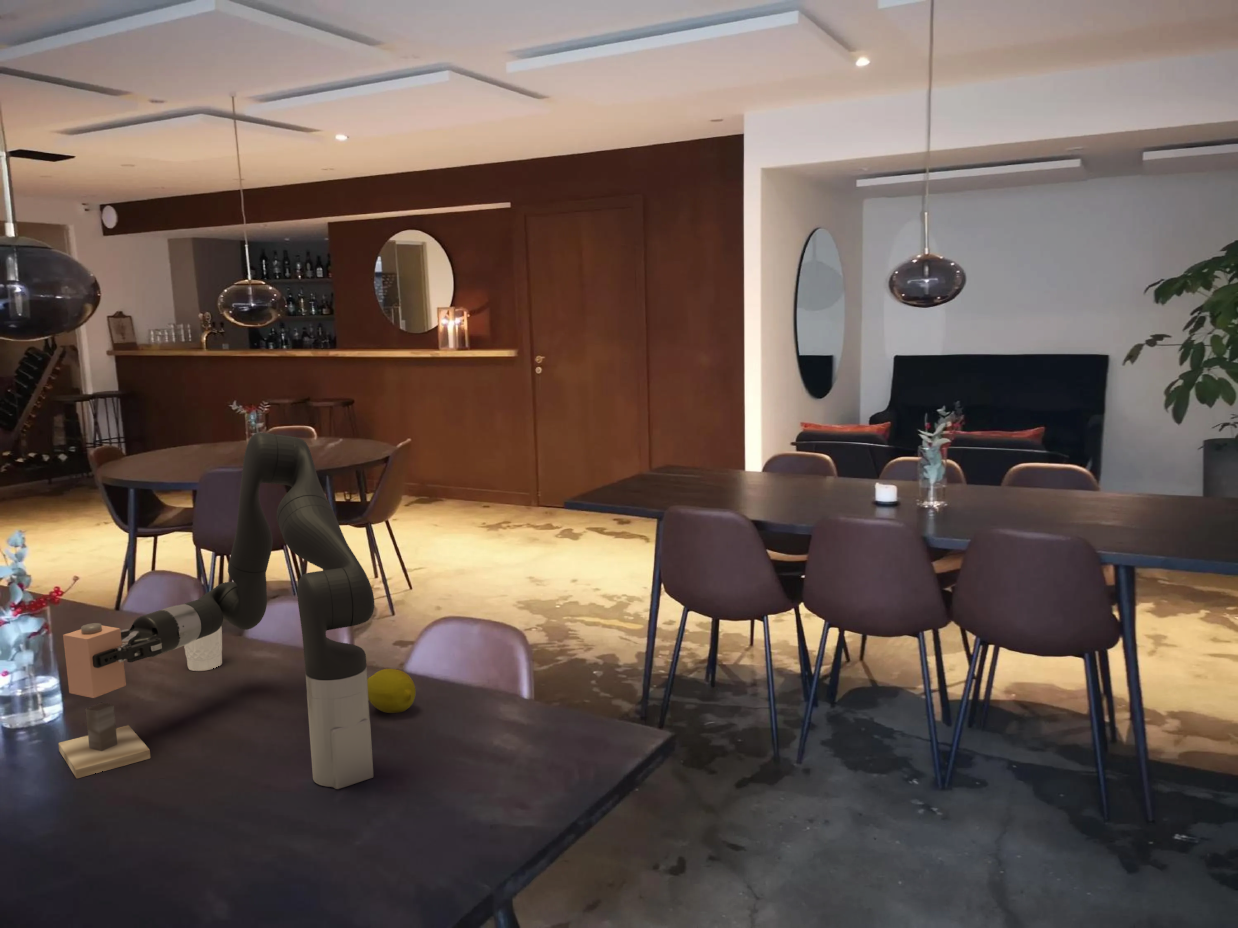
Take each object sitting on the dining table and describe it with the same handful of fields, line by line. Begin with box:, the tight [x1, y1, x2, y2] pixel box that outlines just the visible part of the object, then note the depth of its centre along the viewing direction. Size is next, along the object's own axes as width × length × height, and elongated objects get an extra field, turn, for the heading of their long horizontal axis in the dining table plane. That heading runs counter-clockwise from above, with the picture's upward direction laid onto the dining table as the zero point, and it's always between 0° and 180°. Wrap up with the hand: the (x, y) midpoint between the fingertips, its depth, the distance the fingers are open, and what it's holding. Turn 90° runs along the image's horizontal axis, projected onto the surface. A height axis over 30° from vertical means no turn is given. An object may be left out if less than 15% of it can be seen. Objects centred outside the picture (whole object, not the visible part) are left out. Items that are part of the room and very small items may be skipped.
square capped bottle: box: [62, 622, 127, 699], centre depth 162 cm, size 6×6×11 cm
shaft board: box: [58, 702, 151, 779], centre depth 164 cm, size 14×11×8 cm
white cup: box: [183, 626, 223, 672], centre depth 207 cm, size 8×8×10 cm
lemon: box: [367, 668, 416, 714], centre depth 180 cm, size 11×8×8 cm
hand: (81, 659), depth 160 cm, fingers closed on square capped bottle, 6 cm apart
